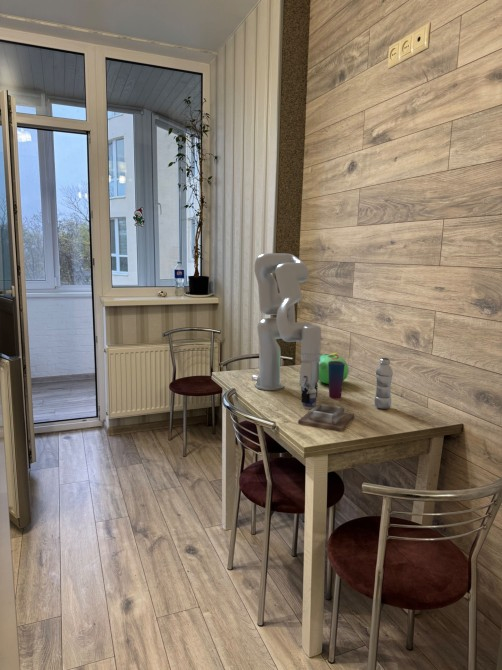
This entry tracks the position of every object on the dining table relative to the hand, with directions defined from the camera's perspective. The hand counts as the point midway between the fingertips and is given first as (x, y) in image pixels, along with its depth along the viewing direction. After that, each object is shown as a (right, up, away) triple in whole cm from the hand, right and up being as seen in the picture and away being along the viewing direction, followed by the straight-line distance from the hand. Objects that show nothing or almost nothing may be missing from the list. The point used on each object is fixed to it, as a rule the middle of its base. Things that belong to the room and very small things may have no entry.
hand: (309, 399), depth 188 cm
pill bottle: (0, -3, +1) cm, 3 cm away
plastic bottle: (+29, -4, 0) cm, 29 cm away
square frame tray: (+5, -6, -14) cm, 16 cm away
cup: (+13, -1, +14) cm, 19 cm away
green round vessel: (+14, +3, +35) cm, 37 cm away
